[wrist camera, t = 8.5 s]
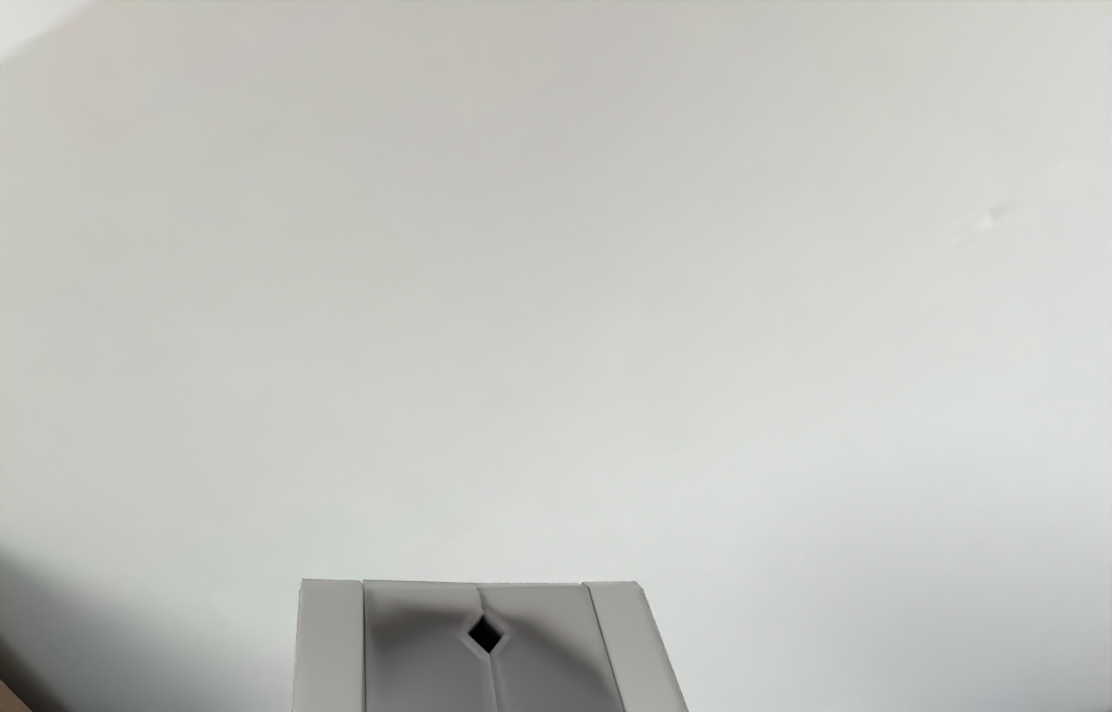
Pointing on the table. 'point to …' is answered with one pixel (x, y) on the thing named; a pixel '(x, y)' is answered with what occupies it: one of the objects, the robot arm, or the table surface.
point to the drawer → (10, 701)
